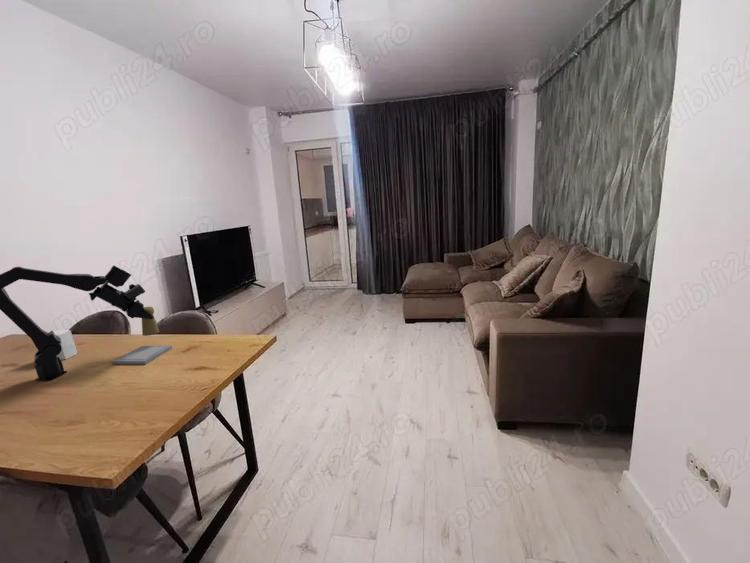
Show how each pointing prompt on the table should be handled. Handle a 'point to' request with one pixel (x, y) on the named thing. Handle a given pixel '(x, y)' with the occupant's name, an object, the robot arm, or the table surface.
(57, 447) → the table surface
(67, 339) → the small box
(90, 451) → the table surface
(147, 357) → the plate
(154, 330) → the cork
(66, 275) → the robot arm
